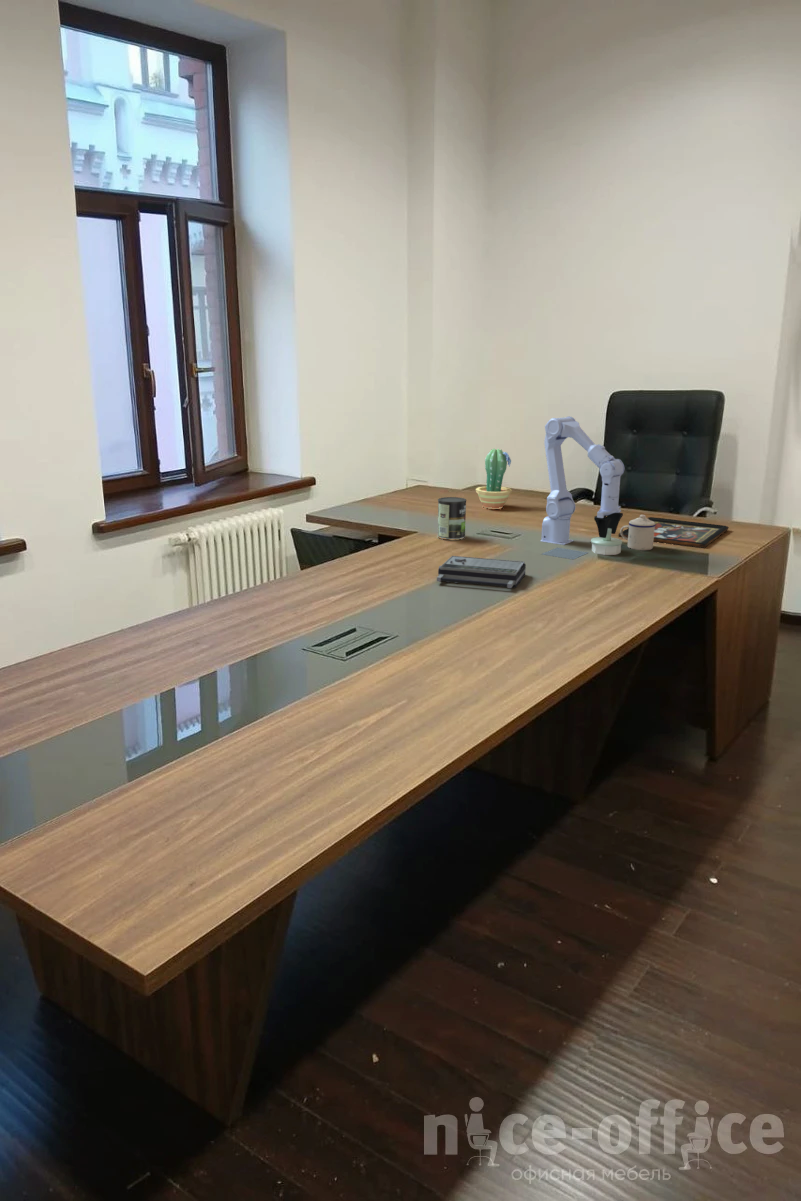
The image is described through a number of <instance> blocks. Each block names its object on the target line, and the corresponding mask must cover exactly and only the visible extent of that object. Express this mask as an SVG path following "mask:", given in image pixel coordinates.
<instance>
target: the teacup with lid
mask: <svg viewBox="0 0 801 1201" xmlns="http://www.w3.org/2000/svg"><path fill="white" fill-rule="evenodd" d="M625 528H626V529H628V528H629V534H628V537H625V536H624V534H623V531H624V529H625ZM654 529H655V522H653V521H651V520H649V519H648V517H647V516H646V515H645V514H640V515H639V517H637V518H634V519H631V520H629V522H628V525H623V526H622V527H621V528H620V529H619V530H620V531H619V533H620V534H621V536H622V537H623V538H622V539H624V540H627V548H628V549H630V548H631V549H630V550H636V551H650V550H653V548H654V542H653V540H654Z"/></svg>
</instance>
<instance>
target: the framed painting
mask: <svg viewBox="0 0 801 1201" xmlns="http://www.w3.org/2000/svg"><path fill="white" fill-rule="evenodd" d="M647 518H648V519H649V520H651V521H653V522H655V529H654V540H653V543H657V542H659V543H658V544H664V543H666V545H672V544H673V545H674V546H682V547H690V548H695V549H696V548H697V549H705V548H706V547H708V546H709V545H710V544H711V542H712V543H713V542H714V541H715V540H716V539H718V538H719V537H721V536H722V535H724V534H723V533H724V532H725V533H726V532H728V530H729V526H727V525H721V524H714V523H705V522H698V521H687V520H680V519H679V520H678V519H673V518H664V517H663V518H662V517H654V516H653V517H652V516H649V517H647ZM623 534H624V536H625V537H628V534H629V528H626V529H623ZM721 534H722V535H721ZM720 535H721V536H720ZM619 537H622V536H621V534H620V532H619V533H618V538H619ZM621 539H624V538H623V537H622V538H621ZM707 545H708V546H707Z"/></svg>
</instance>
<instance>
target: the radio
mask: <svg viewBox="0 0 801 1201" xmlns="http://www.w3.org/2000/svg"><path fill="white" fill-rule="evenodd" d="M526 566H527V565H526V563H525V561H520V560H509V559H508V560H506V559H496V558H495V559H494V558H486V557H485V558H483V557H471V556H462V555H461V556H459V555H451V556H450V557H449V558H448V559H447V560H445V562H444V563H442V564H441V565H439V566H438V571H437V572H438V573H437V575H438V576H436V582H447V583H454V584H458V583H459V584H469V585H480V586H493V587H494V586H495V587H504V588H508V589H513V588H514V589H516V588H517V587H518V586H519V584H520V583H521V581H522V580H523V578H524V577H525V576H526V569H527V568H526Z"/></svg>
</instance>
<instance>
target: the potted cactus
mask: <svg viewBox="0 0 801 1201" xmlns="http://www.w3.org/2000/svg"><path fill="white" fill-rule="evenodd" d="M511 463H512V459H511V457H510V456H509V453H508V452H507V451H506V452H505V451H503V450H502V449H500V448H497V449H496V448H493V449H491V450H490V451H489V452H488V453H487V454H486V456H485V458H484V468H485V472H486V483H485V485H486V486H478V487H476V488H475V492H476V493H477V496H478V498H479V501H480V502H481V504H482V507H483V506H485V507H492V508H499V507H503V506H505V504H506V503H507V501H508V499H509V496H510V495H511V494H512V492H513V490H512V489H511V488H510V487H505V486H503V479H504V475H505V474H506V473H505V472H506V471H507V467H510V466H511ZM507 465H508V466H507Z"/></svg>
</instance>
